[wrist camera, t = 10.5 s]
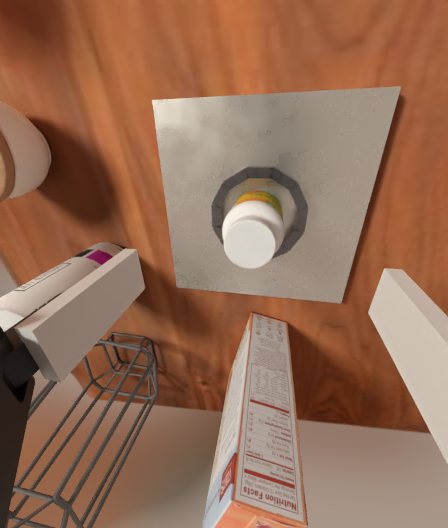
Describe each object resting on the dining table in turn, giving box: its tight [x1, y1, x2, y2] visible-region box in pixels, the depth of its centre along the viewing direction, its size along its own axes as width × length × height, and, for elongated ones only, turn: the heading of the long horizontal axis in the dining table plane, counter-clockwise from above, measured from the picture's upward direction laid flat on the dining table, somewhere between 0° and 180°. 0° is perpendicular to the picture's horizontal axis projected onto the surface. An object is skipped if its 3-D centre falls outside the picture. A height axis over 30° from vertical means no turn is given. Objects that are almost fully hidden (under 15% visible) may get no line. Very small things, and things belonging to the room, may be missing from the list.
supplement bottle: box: [222, 189, 284, 269], centre depth 21 cm, size 5×5×10 cm
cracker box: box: [202, 312, 308, 528], centre depth 28 cm, size 14×6×21 cm, turn 168°
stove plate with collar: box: [152, 86, 401, 303], centre depth 25 cm, size 22×22×3 cm
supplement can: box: [0, 242, 124, 332], centre depth 28 cm, size 8×8×15 cm
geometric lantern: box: [5, 332, 159, 528], centre depth 28 cm, size 16×16×35 cm
